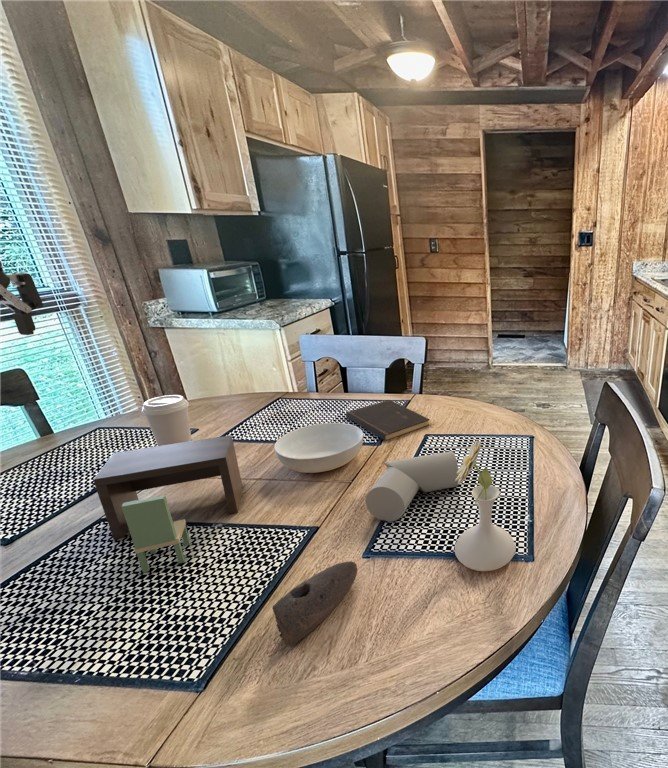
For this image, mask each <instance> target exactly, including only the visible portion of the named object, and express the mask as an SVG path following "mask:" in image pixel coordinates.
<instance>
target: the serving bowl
mask: <svg viewBox="0 0 668 768" xmlns="http://www.w3.org/2000/svg"><path fill="white" fill-rule="evenodd" d="M363 443H364V432H363V430H362V429H361V428H360V427H358V426H356V425H354V424H350V423H343V422H324V423H323V422H322V423H314V424H309V425H305V426H302V427H298V428H296V429H292V430H291V431H288V432H287V433H285V434H284V435H282V436H280V437H279V438H278V439H277V440H276V442H275V443H274V445H273V450H274V452H275V455H276V458H277V459H278V461H279V462H280V463H281V464H282V465H283V466H284V467H286V468H287V469H289V470H292V471H295V472H298V473H304V474H305V473H306V474H307V473H308V474H313V473H314V474H315V473H323V472H328V471H332V470H335V469H338V468H340V467H343V466H344V465H346V464H348V463H349V462H351V461H352V460H354V459H355V457H357V455H358V454H359V453H360V451H361V449H362V446H363Z"/></svg>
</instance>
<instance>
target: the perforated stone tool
mask: <svg viewBox="0 0 668 768" xmlns="http://www.w3.org/2000/svg"><path fill="white" fill-rule="evenodd" d="M357 575H358V566H357V564H356V562H354V561H342V562H339V563H336V564H334V565H332V566H329V567H327V568H325V569H324V570H322V571H319V572H318V573H317V574H315V575H312V576H311V577H310V578H308V579H305V580H304V581H303V582H300V584H298V585H296V586H295V587H293V588H292V589H291V590H290V591H289V592H287V593H286V594H285V595H284V596H282V597H281V598H280V599H278V601H277V602H275V603H274V604H273V605H272V611H273V614H274V619H275V622H276V628H277V630H278V633H279V637H280V639H282V640H283V643H284V645H286V646H288V647H289V648H290V647H292V646H294V645H295V644H297V643H298V642H300V640H302V639H303V638H304V637H306V636H307V635H309V634H310V633H311V632H313V631H314V630H315V628H316V627H317V626H319V625H320V624H321V623H322V622H323V621H324V620H325V619H326V618H327V617H328V616H329V615H330V614H331V613H332V611H334V609H335V608H336V607H337V606H338V605H339V604H340V602H341V601H343V599H344V598H345V597H346V595H347V594H348V593H349V591H350V590H351V588H352V586H353V584H354V583H355V580H356V578H357Z"/></svg>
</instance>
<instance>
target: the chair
mask: <svg viewBox="0 0 668 768" xmlns="http://www.w3.org/2000/svg"><path fill="white" fill-rule="evenodd" d="M122 510H123V513H124V516H125V519H126V522H127V525H128V528H129V530H128V531H129V534H130V537H131V540H132V543H133V546H134V548H133V550H134V554H136V557H137V559H138V563H139V565H140V568H141V572H142V573H143V574H146V573H149V572H150V569H151V568H150V565H149V562H148V559H147V555H146V552H148V551H149V553H150V555H153V554H154V555H155V554H157V552H158V549H160V548H165V547H169V546H173V547H174V552H175V555H176V559H177V562H178V565H180V564H184V563H185V562H186V558H185V555H184V554H185V553H184V551H183V547H182V543H181V539H182V542H183V545H184V547H187V546H190V545H191V539H190V536H189V532H188V528H187V522H186V518H185V519H184V518H183V519H177V520H174V521H173V517H172V514H171V509H170V507H169V503H168V500H167V496H166V494H163V495H157V496H156V495H155V496H152V497H151V496H150V497H146V498H142V499H139V500H136V501H131V502H125V503H123V505H122Z"/></svg>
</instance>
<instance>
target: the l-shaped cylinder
mask: <svg viewBox="0 0 668 768" xmlns="http://www.w3.org/2000/svg"><path fill="white" fill-rule="evenodd" d="M382 463H383V465H384V466H385V467H386V470H385V471H384V472H383V474H382V475H381V477H379V479H378V480H377V481H376V483H375V484H374V485H373V486H372V487H371V488H370V490H368V493H367V494H366V496H365V506H366V509H367V510H368V512H369V513H370V515H372V517H374V518H375V519H377V520H379V521H386V522H396V521H398V520H399V519H401V518H402V517H403V515H404V514H405V512H406V511H407V509H408V507H409V505H410V504H411V502H412V501H413V499H414V498H415V496H416V495H417V493H418V491H421V492H423V493H429V492H436V491H441V490H445V489H450V488H457V487H458V486H459V484H458V480H457V481H455V480H456V478H457V477H458V475H459V474H460V473H459V474H457V471H458V469H459V465H458V460H457V457H456V454H455V452H454V451H452V450H451V451H444V452H438V453H433V454H425V455H420V456H419V455H418V456H413V457H408V458H400V459H394V460H389V461H383V462H382Z"/></svg>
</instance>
